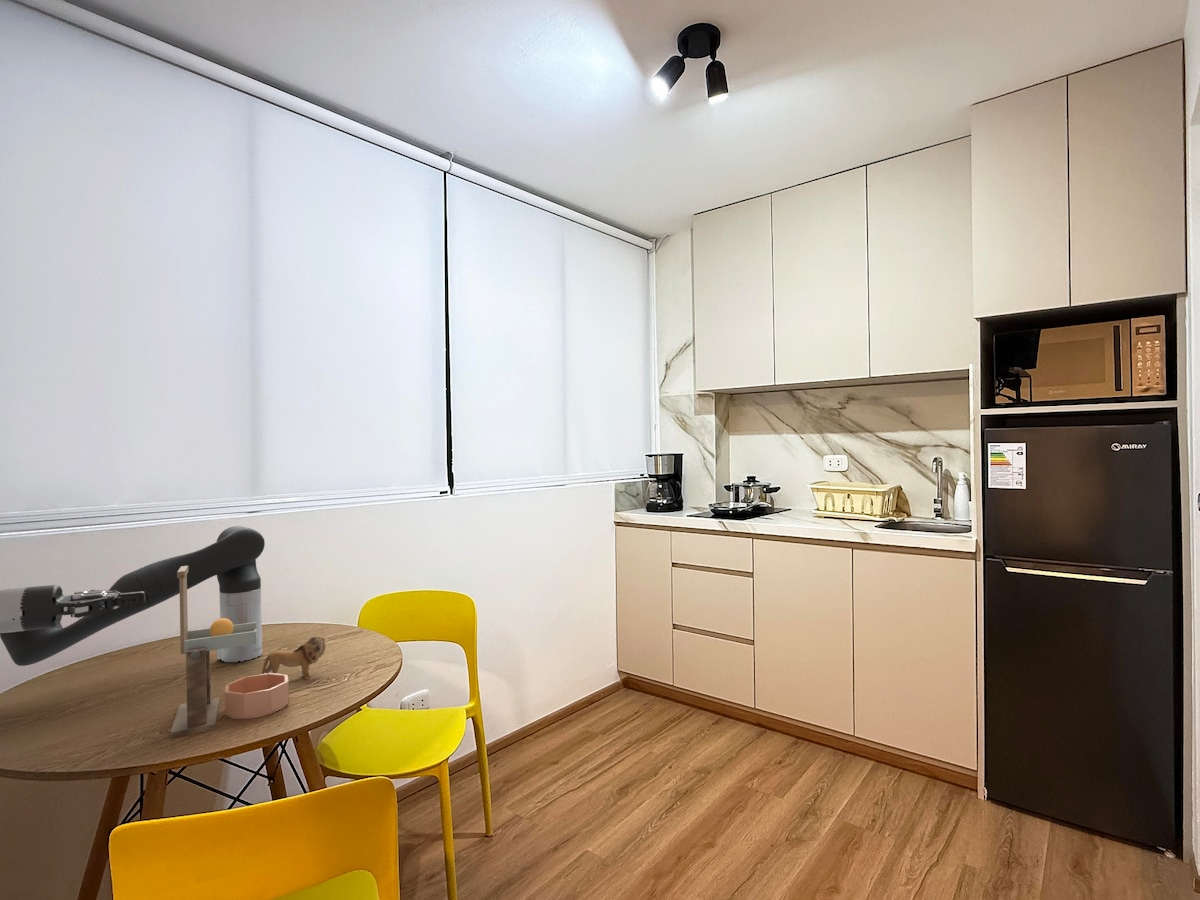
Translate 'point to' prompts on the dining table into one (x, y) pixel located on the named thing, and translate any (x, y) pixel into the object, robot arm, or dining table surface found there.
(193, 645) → the tipping tray
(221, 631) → the ball
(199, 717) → the stand
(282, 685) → the bowl
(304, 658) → the lion figurine
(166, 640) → the dining table surface
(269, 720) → the dining table surface
